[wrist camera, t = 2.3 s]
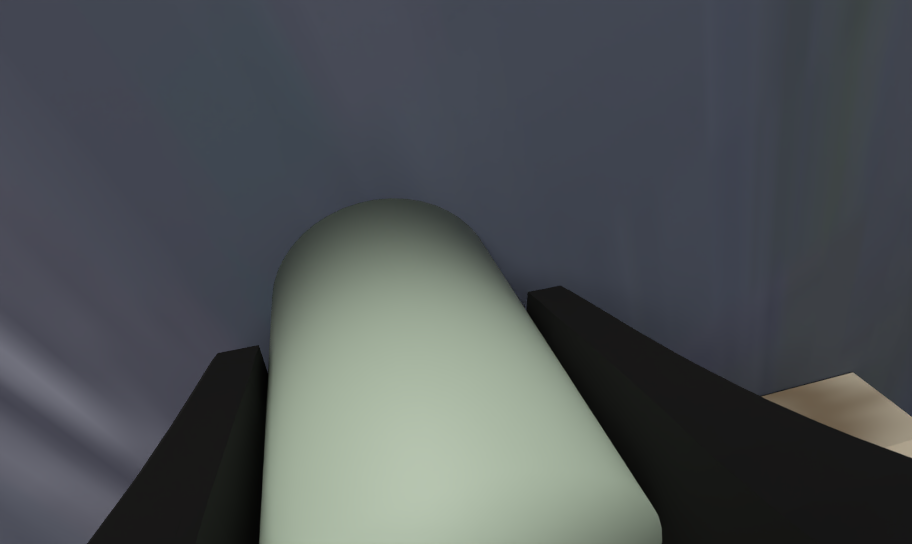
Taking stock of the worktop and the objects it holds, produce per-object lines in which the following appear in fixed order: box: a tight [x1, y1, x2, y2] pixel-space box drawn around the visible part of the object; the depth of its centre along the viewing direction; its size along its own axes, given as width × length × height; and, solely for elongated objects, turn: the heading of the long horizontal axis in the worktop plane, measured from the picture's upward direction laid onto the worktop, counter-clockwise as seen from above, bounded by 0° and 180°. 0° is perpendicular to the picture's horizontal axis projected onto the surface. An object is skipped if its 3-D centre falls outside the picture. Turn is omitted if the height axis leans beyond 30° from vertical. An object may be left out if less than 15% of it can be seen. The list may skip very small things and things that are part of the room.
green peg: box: [259, 198, 662, 544], centre depth 8 cm, size 4×4×6 cm
